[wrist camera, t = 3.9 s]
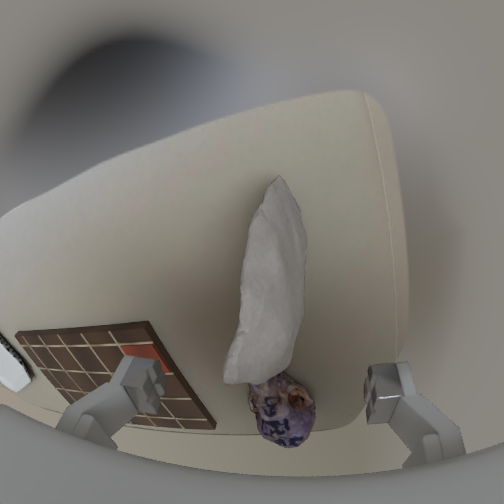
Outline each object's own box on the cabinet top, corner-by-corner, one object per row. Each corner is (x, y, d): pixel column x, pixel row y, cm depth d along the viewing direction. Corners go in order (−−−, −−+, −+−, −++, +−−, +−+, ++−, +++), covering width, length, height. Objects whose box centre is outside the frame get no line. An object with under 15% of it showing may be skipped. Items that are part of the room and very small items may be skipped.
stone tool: (318, 268, 25) (325, 435, 12) (280, 275, 26) (259, 440, 13) (288, 159, 22) (271, 275, 8) (245, 171, 22) (169, 294, 9)
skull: (231, 364, 32) (229, 412, 26) (303, 349, 31) (312, 398, 25) (259, 417, 37) (260, 457, 32) (316, 406, 37) (323, 446, 31)
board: (148, 320, 31) (143, 329, 30) (216, 423, 40) (214, 431, 38) (18, 331, 38) (13, 336, 37) (83, 410, 47) (80, 416, 46)
